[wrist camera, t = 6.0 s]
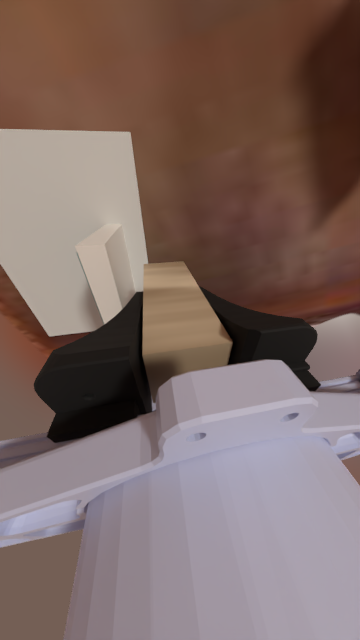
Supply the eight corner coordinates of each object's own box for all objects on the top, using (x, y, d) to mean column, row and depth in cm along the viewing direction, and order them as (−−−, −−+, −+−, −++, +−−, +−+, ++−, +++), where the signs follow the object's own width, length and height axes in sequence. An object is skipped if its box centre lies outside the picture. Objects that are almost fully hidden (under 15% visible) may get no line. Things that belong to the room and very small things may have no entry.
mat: (156, 321, 22) (156, 323, 22) (50, 334, 20) (49, 336, 20) (130, 133, 12) (130, 132, 11) (-85, 128, 10) (-92, 126, 10)
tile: (137, 302, 19) (134, 352, 13) (123, 303, 19) (113, 355, 13) (121, 223, 15) (104, 244, 8) (103, 224, 14) (70, 246, 8)
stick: (183, 296, 14) (221, 391, 7) (148, 299, 14) (153, 403, 7) (183, 261, 13) (233, 342, 6) (143, 264, 12) (142, 354, 5)
